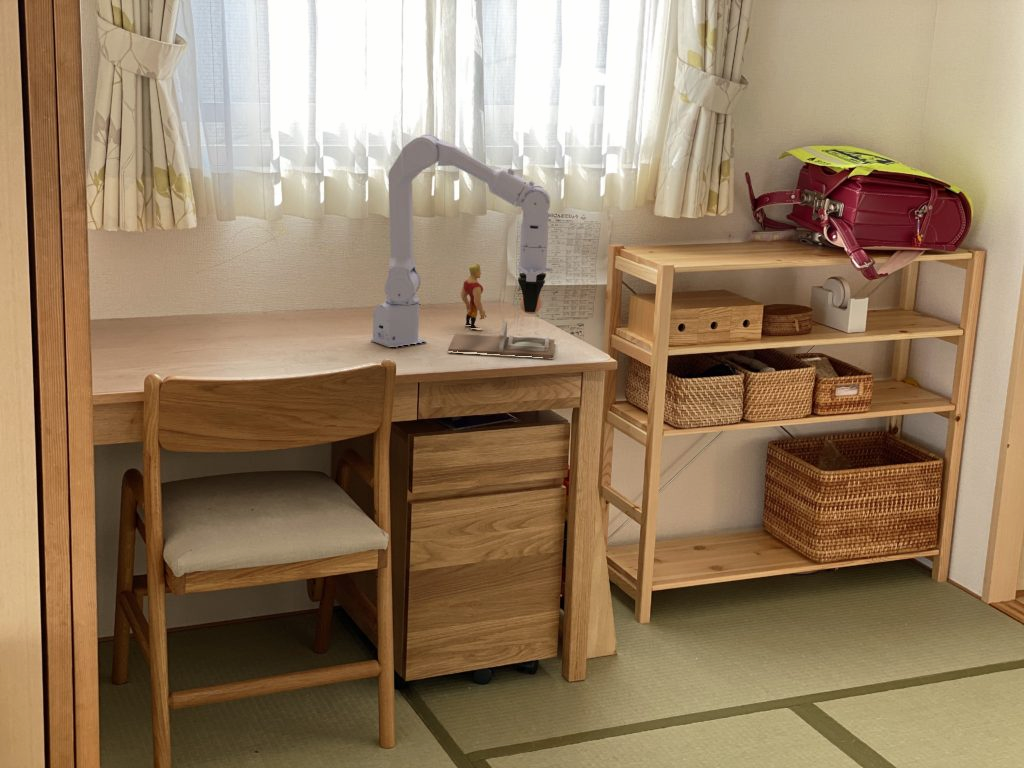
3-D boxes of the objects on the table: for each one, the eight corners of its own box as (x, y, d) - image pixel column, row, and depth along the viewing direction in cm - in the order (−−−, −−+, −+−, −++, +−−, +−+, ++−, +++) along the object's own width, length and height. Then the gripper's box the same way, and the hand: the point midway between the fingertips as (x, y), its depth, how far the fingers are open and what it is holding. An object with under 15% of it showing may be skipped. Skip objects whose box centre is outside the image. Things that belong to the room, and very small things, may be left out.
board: (448, 353, 251) (448, 332, 249) (454, 338, 264) (455, 318, 263) (553, 359, 250) (554, 338, 249) (554, 343, 263) (555, 323, 262)
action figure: (488, 332, 271) (491, 267, 267) (474, 333, 269) (476, 267, 265) (472, 323, 279) (474, 259, 275) (458, 324, 278) (460, 260, 274)
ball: (529, 317, 252) (530, 295, 250) (515, 313, 255) (516, 291, 254) (545, 314, 255) (546, 293, 253) (530, 310, 258) (532, 289, 257)
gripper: (552, 252, 244) (548, 317, 247) (553, 241, 258) (550, 303, 261) (517, 250, 244) (514, 315, 248) (520, 239, 258) (517, 301, 262)
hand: (530, 309), depth 254 cm, fingers closed on ball, 5 cm apart
